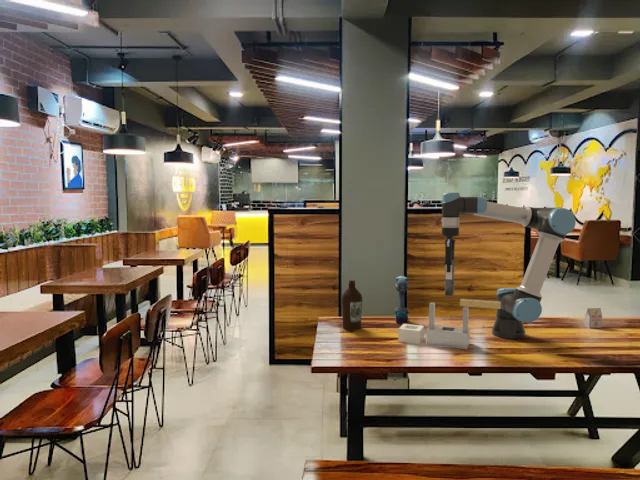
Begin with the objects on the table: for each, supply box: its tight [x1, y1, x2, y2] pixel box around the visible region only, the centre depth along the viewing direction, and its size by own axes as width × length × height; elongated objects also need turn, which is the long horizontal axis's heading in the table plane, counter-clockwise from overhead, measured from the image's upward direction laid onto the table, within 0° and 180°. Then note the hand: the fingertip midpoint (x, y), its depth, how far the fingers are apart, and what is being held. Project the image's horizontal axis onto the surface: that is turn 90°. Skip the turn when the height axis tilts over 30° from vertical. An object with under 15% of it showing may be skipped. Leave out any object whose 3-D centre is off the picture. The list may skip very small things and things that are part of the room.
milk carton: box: [584, 307, 603, 329], centre depth 243 cm, size 4×7×10 cm, turn 94°
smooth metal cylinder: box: [444, 259, 455, 297], centre depth 213 cm, size 4×4×16 cm
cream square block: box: [397, 323, 425, 345], centre depth 222 cm, size 10×10×6 cm
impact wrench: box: [393, 274, 410, 324], centre depth 256 cm, size 8×23×25 cm, turn 174°
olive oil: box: [341, 279, 363, 331], centre depth 242 cm, size 11×11×25 cm
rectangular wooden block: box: [459, 298, 501, 310], centre depth 208 cm, size 17×4×2 cm, turn 67°
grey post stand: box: [425, 301, 471, 350], centre depth 214 cm, size 18×10×18 cm, turn 67°
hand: (449, 278), depth 213 cm, fingers closed on smooth metal cylinder, 4 cm apart
